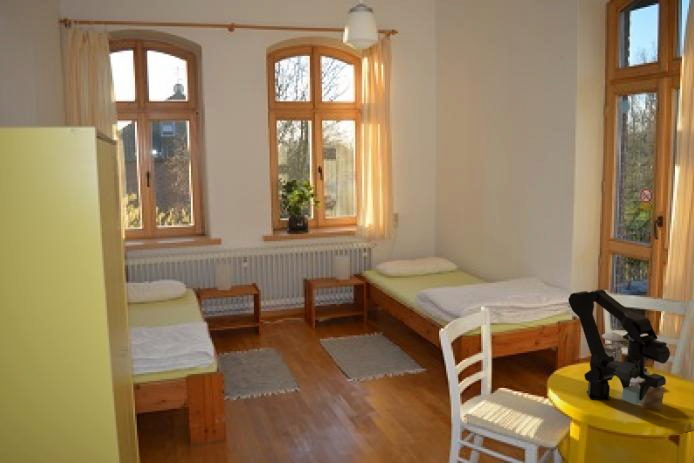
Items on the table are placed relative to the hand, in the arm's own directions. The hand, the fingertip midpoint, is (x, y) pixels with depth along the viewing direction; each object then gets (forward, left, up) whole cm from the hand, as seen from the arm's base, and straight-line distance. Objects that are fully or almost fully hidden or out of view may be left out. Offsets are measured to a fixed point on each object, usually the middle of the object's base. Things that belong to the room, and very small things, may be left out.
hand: (633, 397), depth 214 cm
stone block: (+10, +26, -6) cm, 29 cm away
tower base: (+8, +7, -6) cm, 12 cm away
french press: (+3, +39, -6) cm, 40 cm away
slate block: (0, 0, -1) cm, 1 cm away
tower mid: (+8, +7, -2) cm, 11 cm away
